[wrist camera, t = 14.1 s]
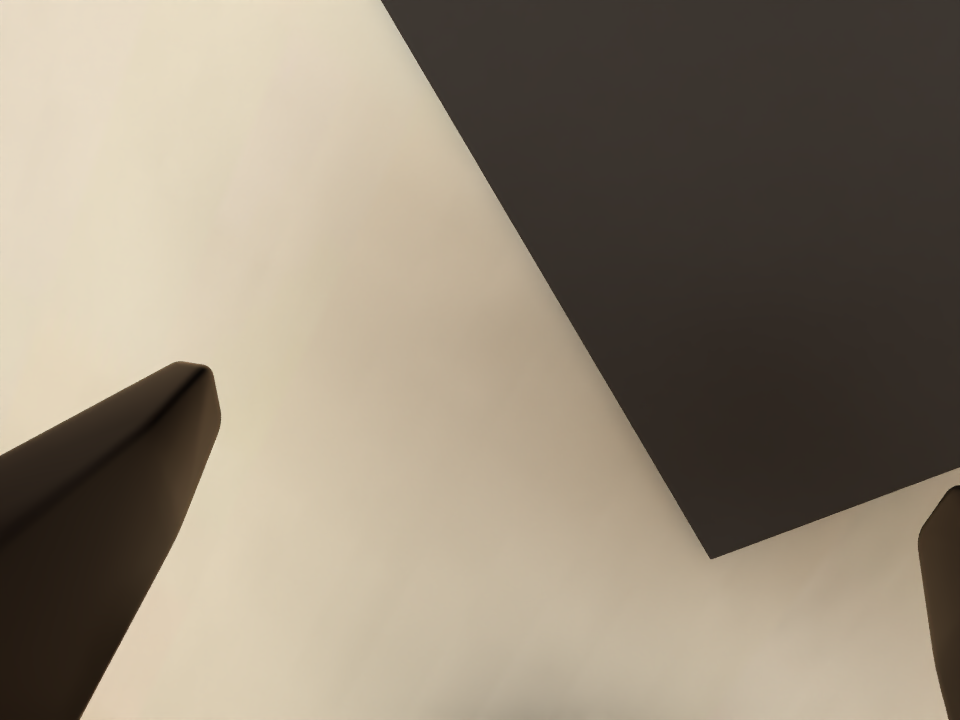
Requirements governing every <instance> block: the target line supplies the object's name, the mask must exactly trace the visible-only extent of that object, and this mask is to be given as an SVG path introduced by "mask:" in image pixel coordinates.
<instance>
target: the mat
mask: <svg viewBox="0 0 960 720" xmlns="http://www.w3.org/2000/svg"><path fill="white" fill-rule="evenodd" d="M381 1H382V3H383V4H384V6H385V8H386V10H387V11H388V13H389V15H390V16H391V18H392V20H393V21H394V23H395V25H396V26H397V28H398V30H399V32H400V33H401V35H402V37H403V38H404V40H405V42H406V43H407V45H408V47H409V49H410V50H411V52H412V54H413V55H414V57H415V59H416V60H417V62H418V64H419V66H420V67H421V69H422V71H423V72H424V74H425V76H426V77H427V79H428V81H429V82H430V84H431V86H432V88H433V89H434V91H435V93H436V94H437V96H438V98H439V99H440V101H441V103H442V105H443V106H444V108H445V110H446V111H447V113H448V115H449V116H450V118H451V120H452V121H453V123H454V125H455V127H456V128H457V130H458V132H459V133H460V135H461V137H462V138H463V140H464V142H465V144H466V145H467V147H468V149H469V150H470V152H471V154H472V155H473V157H474V159H475V160H476V162H477V164H478V166H479V167H480V169H481V171H482V172H483V174H484V176H485V177H486V179H487V181H488V183H489V184H490V186H491V188H492V189H493V191H494V193H495V194H496V196H497V198H498V200H499V201H500V203H501V205H502V206H503V208H504V210H505V211H506V213H507V215H508V216H509V218H510V220H511V222H512V223H513V225H514V227H515V228H516V230H517V232H518V233H519V235H520V237H521V239H522V240H523V242H524V244H525V245H526V247H527V249H528V250H529V252H530V254H531V255H532V257H533V259H534V261H535V262H536V264H537V266H538V267H539V269H540V271H541V272H542V274H543V276H544V278H545V279H546V281H547V283H548V284H549V286H550V288H551V289H552V291H553V293H554V295H555V296H556V298H557V300H558V301H559V303H560V305H561V306H562V308H563V310H564V311H565V313H566V315H567V317H568V318H569V320H570V322H571V323H572V325H573V327H574V328H575V330H576V332H577V334H578V335H579V337H580V339H581V340H582V342H583V344H584V345H585V347H586V349H587V350H588V352H589V354H590V356H591V357H592V359H593V361H594V362H595V364H596V366H597V367H598V369H599V371H600V373H601V374H602V376H603V378H604V379H605V381H606V383H607V384H608V386H609V388H610V389H611V391H612V393H613V395H614V396H615V398H616V400H617V401H618V403H619V405H620V406H621V408H622V410H623V412H624V413H625V415H626V417H627V418H628V420H629V422H630V423H631V425H632V427H633V429H634V430H635V432H636V434H637V435H638V437H639V439H640V440H641V442H642V444H643V445H644V447H645V449H646V451H647V452H648V454H649V456H650V457H651V459H652V461H653V462H654V464H655V466H656V468H657V469H658V471H659V473H660V474H661V476H662V478H663V479H664V481H665V483H666V484H667V486H668V488H669V490H670V491H671V493H672V495H673V496H674V498H675V500H676V501H677V503H678V505H679V507H680V508H681V510H682V512H683V513H684V515H685V517H686V518H687V520H688V522H689V524H690V525H691V527H692V529H693V530H694V532H695V534H696V535H697V537H698V539H699V540H700V542H701V544H702V546H703V547H704V549H705V551H706V552H707V554H708V556H709V557H710V559H714V558H717V557H719V556H722V555H725V554H727V553H730V552H733V551H735V550H738V549H741V548H743V547H746V546H749V545H751V544H754V543H757V542H760V541H762V540H765V539H768V538H770V537H773V536H776V535H778V534H781V533H784V532H786V531H789V530H792V529H795V528H797V527H800V526H803V525H805V524H808V523H811V522H813V521H816V520H819V519H821V518H824V517H827V516H830V515H832V514H835V513H838V512H840V511H843V510H846V509H848V508H851V507H854V506H856V505H859V504H862V503H865V502H867V501H870V500H873V499H875V498H878V497H881V496H883V495H886V494H889V493H891V492H894V491H897V490H900V489H902V488H905V487H908V486H910V485H913V484H916V483H918V482H921V481H924V480H926V479H929V478H932V477H934V476H937V475H940V474H943V473H945V472H948V471H951V470H953V469H956V468H959V467H960V0H381Z"/></svg>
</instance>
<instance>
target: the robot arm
mask: <svg viewBox="0 0 960 720" xmlns="http://www.w3.org/2000/svg"><path fill="white" fill-rule="evenodd" d="M220 424H221V410H220V405H219V400H218V395H217V390H216V385H215V380H214V375H213V372H212V371H211V369H210V368H209V367H208V366H206V365H202V364H196V363H189V362H183V361H178V362H174V363H172V364H170V365H168V366H166V367H164V368H162V369H160V370H159V371H157V372H155V373H153V374H151V375H149V376H147V377H146V378H144V379H142V380H140V381H138V382H136V383H134V384H133V385H131V386H129V387H127V388H125V389H123V390H121V391H120V392H118V393H116V394H114V395H112V396H110V397H108V398H107V399H105V400H103V401H101V402H99V403H97V404H95V405H94V406H92V407H90V408H88V409H86V410H84V411H82V412H81V413H79V414H77V415H75V416H73V417H71V418H69V419H68V420H66V421H64V422H62V423H60V424H58V425H56V426H55V427H53V428H51V429H49V430H47V431H45V432H43V433H42V434H40V435H38V436H36V437H34V438H32V439H30V440H29V441H27V442H25V443H23V444H21V445H19V446H17V447H16V448H14V449H12V450H10V451H8V452H6V453H4V454H3V455H1V456H0V720H80V718H81V716H82V714H83V712H84V711H85V709H86V707H87V705H88V703H89V701H90V699H91V697H92V696H93V694H94V692H95V690H96V688H97V686H98V684H99V682H100V681H101V679H102V677H103V675H104V673H105V671H106V669H107V667H108V665H109V664H110V662H111V660H112V658H113V656H114V654H115V652H116V650H117V649H118V647H119V645H120V643H121V641H122V639H123V637H124V635H125V634H126V632H127V630H128V628H129V626H130V624H131V622H132V620H133V619H134V617H135V615H136V613H137V611H138V609H139V607H140V605H141V604H142V602H143V600H144V598H145V596H146V594H147V592H148V590H149V589H150V587H151V585H152V583H153V581H154V579H155V577H156V575H157V574H158V572H159V570H160V568H161V566H162V564H163V562H164V560H165V559H166V557H167V555H168V553H169V551H170V549H171V547H172V545H173V543H174V541H175V539H176V537H177V535H178V533H179V530H180V528H181V526H182V523H183V521H184V519H185V516H186V514H187V511H188V509H189V506H190V504H191V501H192V498H193V496H194V493H195V491H196V488H197V486H198V483H199V481H200V478H201V476H202V473H203V470H204V468H205V465H206V463H207V460H208V458H209V455H210V453H211V450H212V448H213V445H214V442H215V440H216V437H217V435H218V432H219V429H220ZM918 552H919V559H920V566H921V573H922V580H923V587H924V594H925V601H926V608H927V615H928V622H929V629H930V636H931V643H932V650H933V655H934V661H935V666H936V671H937V675H938V679H939V684H940V688H941V692H942V696H943V699H944V703H945V707H946V711H947V715H948V719H949V720H960V485H958V486H954V487H952V488H951V489H949V490H948V491H947V492H946V494H945V495H944V497H943V498H942V499H941V501H940V502H939V504H938V505H937V507H936V508H935V509H934V511H933V512H932V514H931V515H930V517H929V518H928V519H927V521H926V522H925V524H924V525H923V527H922V529H921V531H920V534H919V538H918Z"/></svg>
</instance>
